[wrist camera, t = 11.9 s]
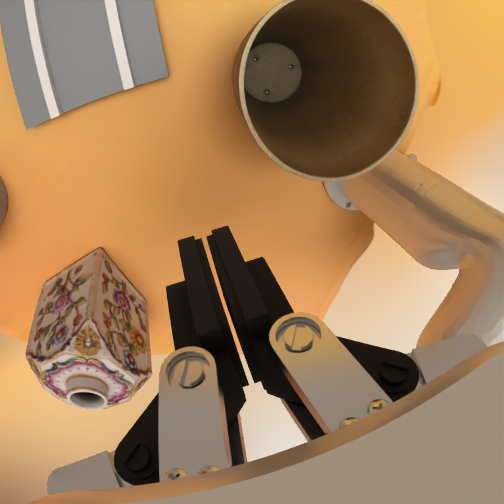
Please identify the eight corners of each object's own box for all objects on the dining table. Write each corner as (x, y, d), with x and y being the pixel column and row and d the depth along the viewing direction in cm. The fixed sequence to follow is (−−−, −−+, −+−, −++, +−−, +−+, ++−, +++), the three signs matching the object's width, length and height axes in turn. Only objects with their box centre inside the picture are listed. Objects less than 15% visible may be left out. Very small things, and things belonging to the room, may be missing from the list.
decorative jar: (101, 243, 37) (87, 355, 23) (149, 300, 45) (161, 407, 31) (41, 282, 37) (14, 389, 23) (90, 330, 45) (87, 432, 31)
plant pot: (271, -11, 26) (350, -44, 13) (346, 79, 34) (440, 104, 22) (173, 74, 29) (189, 82, 16) (264, 156, 38) (327, 217, 25)
